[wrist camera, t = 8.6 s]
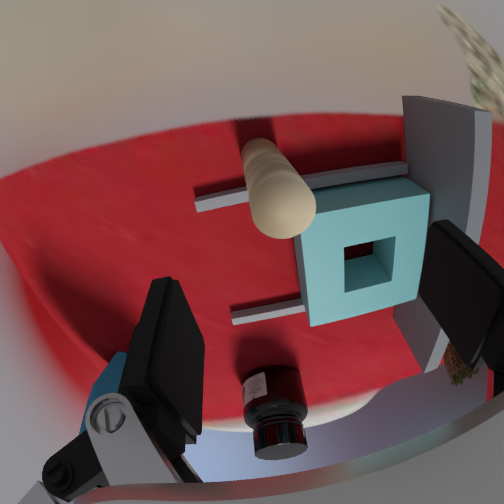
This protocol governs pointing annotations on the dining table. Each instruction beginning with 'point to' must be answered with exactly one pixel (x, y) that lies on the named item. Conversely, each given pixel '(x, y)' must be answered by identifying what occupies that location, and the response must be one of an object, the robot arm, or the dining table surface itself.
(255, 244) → the dining table surface
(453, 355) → the cup
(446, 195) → the backstop wall
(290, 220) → the dowel
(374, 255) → the socket block
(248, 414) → the ink bottle
